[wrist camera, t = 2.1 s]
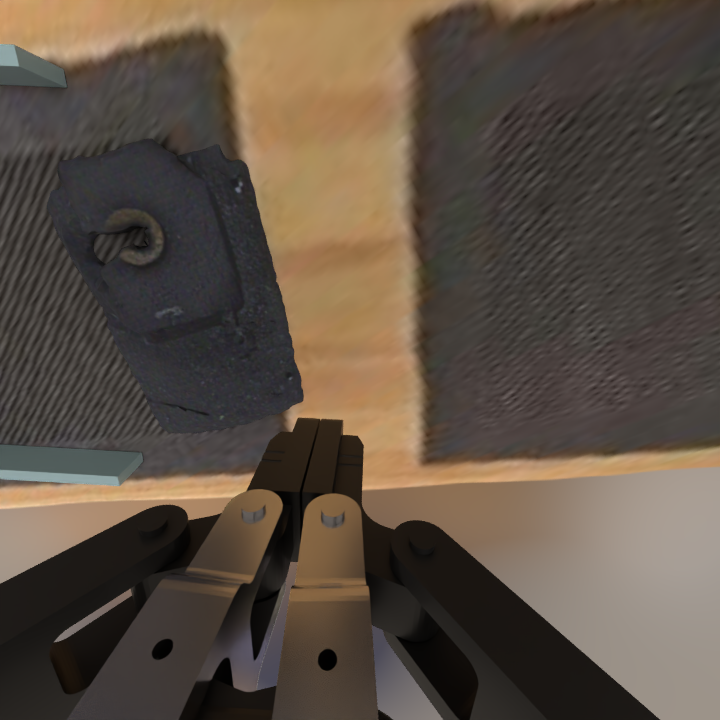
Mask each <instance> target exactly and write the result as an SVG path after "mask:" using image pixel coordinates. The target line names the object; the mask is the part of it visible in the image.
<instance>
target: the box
mask: <svg viewBox="0 0 720 720" xmlns="http://www.w3.org/2000/svg"><path fill="white" fill-rule="evenodd" d="M0 85H17V86H40V87H63V88H67V84H66V79H65V74H64V69H62V68H60V67H58V66H56V65H54V64H52V63H50V62H48V61H46V60H44V59H42V58H40V57H38V56H36V55H34V54H32V53H30V52H28V51H26V50H23V49H21V48H19V47H17V46H15V45H8V44H0ZM142 462H143V456H142V453H141V452H124V451H106V450H89V449H72V448H54V447H37V446H20V445H2V444H0V479H10V480H27V481H44V482H61V483H78V484H94V485H111V486H120V485H121V484H122V483H123V482H124V481H125V480H126V479H127V478H128V477H129V476H130V475H131V474H132V473H133V472H134V471H135V470H136V469H137V467H138V466H139V465H140V464H141V463H142Z"/></svg>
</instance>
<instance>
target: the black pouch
mask: <svg viewBox="0 0 720 720" xmlns="http://www.w3.org/2000/svg"><path fill="white" fill-rule="evenodd" d="M58 176H59V179H60V181H61V183H62V185H63V186H62V187H60V188H59V189H58V190H53V191H52V192H51V193H50V197H49V201H48V204H47V209H48V211H49V213H50V215H51V217H52V219H53V223H54V227H55V229H56V232H57V234H58V236H59V238H60V239H61V241H62V242H63V244H64V246H65V248H66V250H67V251H68V253H69V255H70V257H71V259H72V261H73V262H74V264H75V266H76V268H77V269H78V271H79V272H80V273H81V274H82V276H83V279H84V280H85V282H86V284H87V285H88V287H89V288H90V290H91V292H92V294H93V295H94V297H95V298H96V299H97V301H98V303H99V304H100V305H101V306H102V307H103V310H104V313H105V316H106V317H107V318H108V323H107V326H108V329H109V330H110V331H111V333H112V335H113V337H114V340H115V343H116V345H117V347H118V348H119V350H120V352H121V354H122V355H123V356H124V358H125V360H126V361H127V362H128V365H129V367H130V369H131V373H132V374H133V375H134V377H135V378H136V379H137V380H138V382H139V384H140V385H141V388H142V390H143V392H144V394H145V396H146V399H147V401H148V404H149V406H150V408H151V410H152V412H153V414H154V416H155V418H156V419H157V420H158V422H159V424H160V426H161V427H162V428H163V429H164V430H165V431H167V432H169V433H201V432H205V431H210V430H221V429H226V428H228V427H234V426H236V425H244V424H248V423H251V422H254V421H255V420H260V419H262V418H264V417H266V416H267V415H275V414H279V413H282V412H283V411H285V410H288V409H289V408H290V407H291V406H293V405H295V404H297V403H300V402H302V401H303V390H302V388H301V376H300V373H299V370H298V368H297V365H296V363H295V361H294V349H293V347H292V338H291V336H290V334H289V328H288V322H287V318H286V313H285V306H284V304H283V301H282V295H281V292H280V289H279V286H278V284H277V282H276V278H277V277H276V273H275V271H274V267H273V262H272V257H271V254H270V251H269V248H268V245H267V240H266V236H265V232H264V229H263V226H262V223H261V218H260V213H259V210H258V207H257V202H256V196H255V191H254V188H253V185H252V183H251V179H250V174H249V170H248V167H247V165H246V164H245V163H244V162H243V161H241V160H235V161H229V159H226V158H225V156H224V155H223V153H222V151H221V149H220V146H219V145H217V144H216V145H214V146H211V147H209V148H206V149H204V150H200V151H194V152H190V153H187V154H184V155H180V156H176V155H175V154H173V153H171V152H169V151H167V150H166V149H165V148H164V147H163V146H161V145H160V144H158V143H156V142H155V141H154V140H153V139H144V140H140V141H137V142H134V143H130V144H126V145H125V146H123V147H122V148H120V149H118V150H113V151H109V152H107V153H104V154H102V155H98V156H91V157H83V156H77V157H76V158H74V159H72V160H62V161H60V162H59V165H58ZM139 227H146V228H148V229H147V230H145V233H146V235H147V237H148V240H149V245H148V246H142V247H139V246H135V245H134V244H132V245H130V246H127V247H124V248H122V249H121V250H120V252H119V254H118V257H117V258H116V259H113V260H111V261H110V262H108V263H107V264H104V263H103V262H102V261H100V260H99V259H98V258H97V257H96V255H95V253H94V248H93V247H94V240H95V238H96V237H97V236H98V235H99V234H118V233H125V232H129V231H132V230H134V229H136V228H139ZM144 242H145V241H144ZM145 244H146V245H147V243H146V242H145Z"/></svg>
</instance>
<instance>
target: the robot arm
mask: <svg viewBox="0 0 720 720" xmlns="http://www.w3.org/2000/svg"><path fill="white" fill-rule="evenodd" d="M363 448H364V445H363V444H362V442H361V440H360V439H359V437H358V436H352V435H343V420H333V419H321V421H320V419H314V418H298V419H297V421H296V424H295V427H294V429H293V432H280V433H279V434H277V435H276V436H275V437H274V438H273V439H271V440H270V442H269V444H268V446H267V449H266V452H265V453H264V455H263V457H262V460H261V461H260V463H259V466H258V468H257V470H256V472H255V474H254V476H253V478H252V480H251V483H250V485H249V487H248V489H247V491H246V492H243V493H241V494H239V495H237V496H236V497H234V498H233V499H232V500H231V501H230V502H229V503H228V504H227V506H226V507H225V509H224V511H223V512H222V513H220V514H218V515H214V516H210V517H204V518H199V519H194V520H188V516H187V513H186V512H185V510H183V509H182V508H180V507H178V506H175V505H160V506H155V507H152V508H149V509H146V510H144V511H142V512H140V513H138V514H136V515H134V516H132V517H130V518H128V519H127V520H124V521H122V522H120V523H119V524H117V525H115V526H113V527H111V528H109V529H107V530H105V531H103V532H101V533H99V534H97V535H95V536H93V537H91V538H89V539H87V540H85V541H83V542H81V543H79V544H77V545H76V546H74V547H71V548H69V549H68V550H66V551H64V552H62V553H60V554H58V555H56V556H54V557H52V558H50V559H48V560H46V561H44V562H42V563H40V564H38V565H36V566H34V567H32V568H30V569H28V570H26V571H25V572H23V573H21V574H19V575H17V576H15V577H13V578H11V579H9V580H7V581H5V582H3V583H1V584H0V720H393V719H391V718H390V717H389V716H388V715H386V714H385V713H383V712H381V711H380V710H378V706H377V693H376V679H375V665H374V650H373V636H372V625H373V626H375V627H377V628H380V629H382V630H383V632H384V636H385V638H386V640H387V642H388V644H389V645H390V646H391V648H392V649H393V650H394V652H395V653H396V655H397V656H398V657H399V659H400V660H401V661H402V663H403V664H404V666H405V667H406V669H407V670H408V671H409V673H410V674H411V675H412V677H413V678H414V680H415V681H416V682H417V684H418V685H419V687H420V688H421V689H422V691H423V692H424V694H425V695H426V696H427V698H428V699H429V700H430V702H431V703H432V705H433V706H434V707H435V709H436V710H437V711H438V713H439V714H440V715H441V717H442V718H443V720H660V719H659V718H657V717H656V716H655V715H654V714H653V713H652V712H651V711H649V710H648V709H647V708H646V707H645V706H644V705H642V704H641V703H640V702H639V701H638V700H637V699H636V698H634V697H633V696H632V695H631V694H630V693H629V692H627V691H626V690H625V689H624V688H623V687H622V686H621V685H620V684H618V683H617V682H616V681H615V680H614V679H613V678H611V677H610V676H609V675H608V674H607V673H606V672H605V671H603V670H602V669H601V668H600V667H599V666H598V665H597V664H595V663H594V662H593V661H592V660H591V659H590V658H589V657H587V656H586V655H585V654H584V653H583V652H581V650H579V649H578V648H577V647H576V646H575V645H574V644H572V643H571V642H570V641H569V640H568V639H567V638H565V637H564V636H563V635H562V634H561V633H560V632H559V631H557V630H556V629H555V628H554V627H553V626H552V625H551V624H550V623H548V622H547V621H546V620H545V619H544V618H543V617H541V616H540V615H539V614H538V613H537V612H536V611H535V610H533V609H532V608H531V607H530V606H529V605H528V604H527V603H525V602H524V601H523V600H522V599H521V598H520V597H519V596H517V595H516V594H515V593H514V592H513V591H512V590H510V589H509V588H508V587H507V586H506V585H505V584H504V583H502V582H501V581H500V580H499V579H498V578H497V577H496V576H494V575H493V574H492V573H491V572H490V571H489V570H487V569H486V568H485V567H484V566H483V565H482V564H481V563H479V562H478V561H477V560H476V559H475V558H474V557H473V556H471V555H470V554H469V553H468V552H467V551H466V550H465V549H463V548H462V547H461V546H460V545H459V544H458V543H457V542H455V541H454V540H453V539H452V538H451V537H450V536H449V535H447V534H446V533H445V532H444V531H443V530H441V529H440V528H439V527H437V526H435V525H434V524H431V523H429V522H425V521H418V520H417V521H416V520H413V521H407V522H404V523H402V524H400V525H399V526H398V527H397V528H396V529H395V530H393V529H390V528H387V527H384V526H382V525H380V524H378V523H376V522H374V521H373V520H372V519H370V518H369V517H368V516H367V514H366V513H365V511H364V509H363V507H362V475H363ZM290 562H298V565H297V573H296V580H295V585H294V586H292V587H291V591H290V597H289V603H288V610H287V617H286V624H285V631H284V638H283V646H282V652H281V659H280V666H279V673H278V680H277V686H274V687H270V688H265V689H261V690H257V683H258V677H259V673H260V669H261V666H262V662H263V659H264V656H265V653H266V650H267V647H268V643H269V640H270V637H271V634H272V631H273V628H274V625H275V621H276V618H277V615H278V612H279V609H280V606H281V602H282V599H283V596H284V593H285V588H286V577H287V574H288V570H289V565H290ZM129 589H131V592H132V596H131V597H129V598H128V599H126V600H125V601H123V602H122V603H120V604H118V605H117V606H115V607H114V608H112V609H111V610H109V611H108V612H106V613H105V614H103V615H102V616H100V617H99V618H97V619H96V620H94V621H93V622H91V623H89V624H88V625H86V626H85V627H83V628H82V629H80V630H79V631H77V632H76V633H74V634H73V635H71V636H70V637H68V638H66V639H64V640H62V641H59V642H54V641H55V640H56V639H57V637H58V636H59V635H60V634H61V633H63V632H64V631H65V630H67V629H68V628H69V627H71V626H72V625H74V624H76V623H77V622H79V621H80V620H82V619H83V618H85V617H86V616H88V615H89V614H91V613H93V612H94V611H96V610H97V609H99V608H101V607H102V606H104V605H105V604H107V603H108V602H110V601H111V600H113V599H114V598H116V597H118V596H119V595H121V594H122V593H124V592H126V591H127V590H129ZM53 642H54V643H53Z"/></svg>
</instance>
